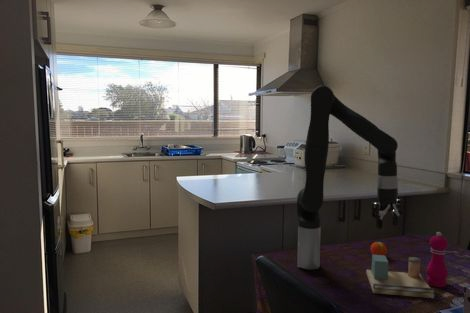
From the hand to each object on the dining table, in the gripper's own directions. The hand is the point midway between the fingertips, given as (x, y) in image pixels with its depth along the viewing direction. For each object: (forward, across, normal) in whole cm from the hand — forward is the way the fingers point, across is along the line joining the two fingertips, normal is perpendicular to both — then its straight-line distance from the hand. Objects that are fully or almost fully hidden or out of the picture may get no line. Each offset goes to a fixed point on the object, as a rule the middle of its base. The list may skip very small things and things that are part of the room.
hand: (387, 226), depth 151 cm
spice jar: (+18, -4, +9) cm, 21 cm away
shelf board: (+19, +5, +10) cm, 22 cm away
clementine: (+19, -11, -15) cm, 27 cm away
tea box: (+18, +8, +3) cm, 19 cm away
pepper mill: (+20, -9, +15) cm, 27 cm away
